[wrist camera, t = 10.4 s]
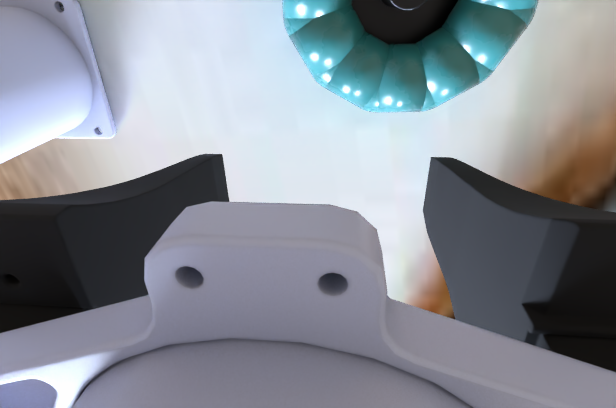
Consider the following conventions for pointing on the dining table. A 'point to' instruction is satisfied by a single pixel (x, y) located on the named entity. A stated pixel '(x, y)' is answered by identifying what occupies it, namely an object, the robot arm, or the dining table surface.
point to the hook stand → (402, 18)
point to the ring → (404, 52)
